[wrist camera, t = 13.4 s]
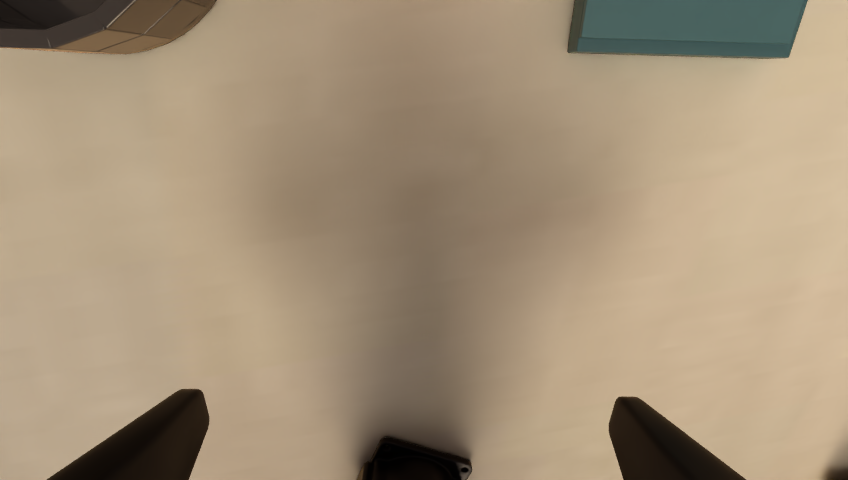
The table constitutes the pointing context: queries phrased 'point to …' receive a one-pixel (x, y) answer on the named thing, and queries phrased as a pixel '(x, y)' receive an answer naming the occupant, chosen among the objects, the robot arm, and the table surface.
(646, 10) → the teal flat block
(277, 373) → the table surface
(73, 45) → the pan
